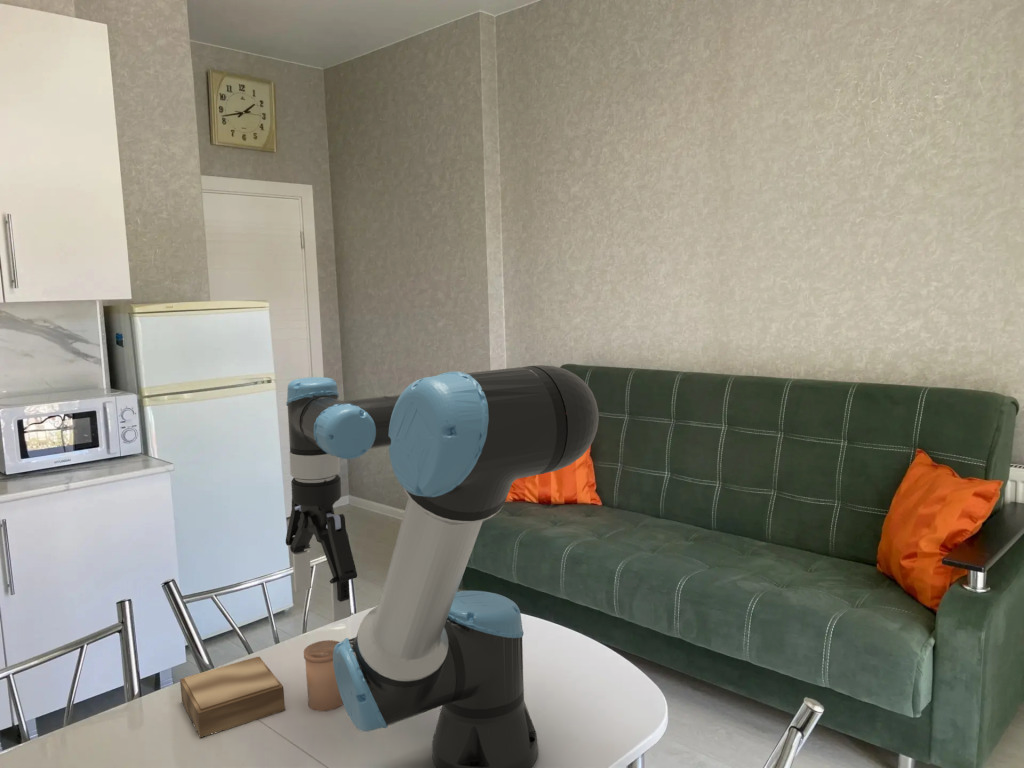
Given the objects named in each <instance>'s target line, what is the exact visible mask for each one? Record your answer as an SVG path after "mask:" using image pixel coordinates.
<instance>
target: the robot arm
mask: <svg viewBox="0 0 1024 768" xmlns="http://www.w3.org/2000/svg"><path fill="white" fill-rule="evenodd" d="M286 392H287V399H286V400H287V401H286V403H285V405H286V406H287V417H288V419H287V420H288V422H287V423H288V436H289V437H288V438H289V440H288V441H289V466H290V467H289V470H290V475H291V477H293V478H292V479H291V484H290V486H291V511H290V516H289V522H288V527H287V530H286V536H285V544H286V546H290V547H289V548H290V551H291V552H290V553H293V554H292V568H293V569H292V570H293V571H292V572H293V586H294V587H293V588H294V592H295V593H298V592H302V591H305V590H308V589H309V590H310V589H312V571H311V551H310V550H308V549H311V545H310V542H311V540H312V538H313V535H314V537H315V540H316V542H317V543H320V544H321V547H322V549H323V552H324V556H325V558H326V562H327V564H328V567H329V569H330V570H329V571H330V573H331V575H332V577H331V579H330V580H329V583H330V599H331V601H330V602H331V620H332V621H333V622H335V623H336V622H338V621H341V620H344V619H347V618H350V617H351V605H350V604H351V601H350V600H351V599H350V580H354V579H356V578H357V577H358V572H357V567H356V564H355V560H354V556H353V553H352V548H351V544H350V541H349V536H348V532H347V528H346V517H345V514H344V513H340V514H335V510H334V505H335V503H336V502H338V501H339V500H341V497H342V483H341V481H342V480H341V479H342V478H341V477H340V475H339V473H340V472H341V465H340V462H341V461H340V459H342V460H343V459H344V460H354V459H357V458H360V457H362V456H363V455H365V454H366V453H367V452H368V451H369V450H374V449H379V448H388V454H389V460H390V463H391V468H392V471H393V473H394V476H395V477H396V480H397V482H398V483H399V484H400V486H401V487H403V491H404V493H405V494H406V496H407V497H408V498H407V502H406V506H405V509H404V512H403V517H402V519H401V522H400V526H399V530H398V534H397V536H396V537H397V538H396V540H395V544H394V547H393V551H392V553H391V554H392V555H391V558H390V562H389V565H388V569H387V572H386V576H385V579H384V583H383V587H382V590H381V594H380V598H379V600H378V604H377V606H375V607H374V608H373V609H371V610H370V611H369V612H368V613H367V614H365V616H364V617H363V618H362V621H361V622H360V624H359V627H358V630H357V634H356V636H355V637H352V638H348V637H346V638H344V639H343V640H342V641H338V642H339V643H337V644H336V645H335V647H334V650H333V665H334V672H335V677H336V681H337V685H338V689H339V692H340V695H341V699H342V701H343V704H342V705H343V706H344V709H345V711H346V713H347V716H348V717H349V720H350V721H351V723H352V724H353V725H354V726H355V727H356V729H358V730H359V731H361V732H366V733H367V732H371V731H375V730H378V729H379V730H380V729H382V728H383V729H387V728H388V726H391V725H395V724H396V723H400V722H403V721H405V720H407V719H410V718H414V717H415V716H419V715H420V714H423V713H427V712H429V711H431V710H434V709H436V708H440V707H441V710H440V713H439V717H438V718H437V719H438V720H437V724H436V727H435V731H434V734H433V737H432V744H431V750H432V751H431V752H432V761H433V764H434V767H435V768H532V767H533V766H532V765H534V764H535V763H536V761H537V758H538V745H539V744H538V735H537V732H536V728H535V726H534V723H533V720H532V718H531V715H530V712H529V709H528V707H527V704H526V702H525V693H524V692H525V690H524V689H525V687H524V684H525V682H524V654H523V653H524V652H523V651H524V650H523V649H524V648H523V636H524V630H523V622H522V613H521V611H520V607H519V606H518V605H517V603H515V601H513V600H512V599H510V598H508V597H506V596H504V595H501V594H498V593H494V592H490V591H483V590H460V591H458V590H459V587H460V585H461V582H462V579H463V576H464V573H465V570H466V568H467V565H468V562H469V560H470V558H471V554H472V552H473V549H474V546H475V544H476V541H477V537H478V536H479V532H480V530H481V527H482V524H483V522H484V521H487V520H489V519H491V518H492V517H494V516H495V515H496V514H499V512H500V511H502V508H503V507H504V505H505V503H506V500H507V497H508V495H509V493H510V490H511V487H512V485H513V483H514V482H515V481H516V480H518V479H523V478H528V477H533V476H539V475H543V474H546V473H547V474H548V473H551V472H557V471H559V470H561V469H564V468H566V467H568V466H570V465H572V464H574V463H575V462H576V461H577V460H579V459H580V458H581V457H582V456H584V454H585V453H586V452H587V451H588V449H589V448H590V447H591V446H592V444H593V442H594V439H595V438H596V434H597V431H598V426H599V420H600V418H599V408H598V404H597V400H596V398H595V396H594V393H593V391H592V389H591V388H590V387H589V385H588V384H587V383H586V382H585V381H584V380H583V379H582V378H580V377H579V376H578V375H577V374H576V373H573V372H572V371H570V370H568V369H565V368H563V367H560V366H555V365H545V364H540V365H539V364H538V365H527V366H521V367H520V366H519V367H517V366H516V367H511V368H499V369H492V370H483V371H474V372H462V371H448V372H444V373H440V374H439V375H433V376H428V377H427V376H426V377H422V378H420V379H417V380H415V381H413V382H412V383H410V384H409V385H408V386H407V387H406V388H405V389H404V390H403V391H402V393H401V394H397V395H396V394H394V395H386V396H377V397H366V398H359V399H358V398H356V399H349V400H348V399H347V400H340V399H339V392H338V385H337V382H336V381H335V379H333V378H330V377H321V376H318V377H317V376H313V377H301V378H297V379H293V380H291V381H290V382H289V383H288V385H287V391H286Z"/></svg>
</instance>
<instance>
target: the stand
mask: <svg viewBox="0 0 1024 768" xmlns="http://www.w3.org/2000/svg"><path fill="white" fill-rule="evenodd" d="M179 681H180V683H179V684H180V694H181V696H180V697H181V703H182V702H183V703H182V704H184V705H183V707H184V706H185V707H184V709H185V708H186V709H185V711H186V710H187V711H186V712H188V713H187V715H188V714H189V715H188V716H190V717H191V719H192V721H193V723H194V725H195V727H196V728H195V727H194V728H195V730H196V729H197V730H196V732H197V731H198V732H197V734H198V733H199V734H198V736H199V735H200V736H199V738H200V737H202V738H204V737H203V736H205V737H207V736H206V735H208V736H211V735H212V734H211V733H214V734H216V733H215V732H217V733H220V732H223V731H226V730H229V729H233V728H235V727H238V726H241V725H243V724H247V723H250V722H253V721H256V720H260V719H262V718H265V717H268V716H272V715H274V714H277V713H280V712H284V711H286V705H285V690H284V689H285V687H284V686H283V684H282V683H281V681H280V680H279V679H278V677H277V676H275V674H274V673H273V672H272V670H271V669H270V667H268V665H267V664H266V663H265V661H264V660H263V659H262V658H261V657H260V656H254V657H251V658H247V659H244V660H241V661H238V662H234V663H231V664H226V665H224V666H223V665H222V666H220V667H217V668H213V669H210V670H209V669H208V670H205V671H203V672H199V673H196V674H192V675H189V676H186V677H183V678H180V679H179ZM190 717H189V718H190ZM191 719H190V720H191ZM192 721H191V722H192ZM193 723H192V724H193ZM194 725H193V726H194ZM222 730H223V731H222ZM219 731H220V732H219ZM210 734H211V735H210Z"/></svg>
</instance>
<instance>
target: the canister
mask: <svg viewBox="0 0 1024 768" xmlns="http://www.w3.org/2000/svg"><path fill="white" fill-rule="evenodd" d="M339 642H340V641H338V640H334V639H333V640H330V639H328V640H321V641H320V640H319V641H316V642H313V643H311V644H309V645H307V646H306V647H305V648H304V650H303V658H304V661H305V662H304V663H305V672H306V673H305V675H306V676H305V677H306V688H307V689H306V690H307V692H306V693H307V705H308V708H310V709H311V710H313V711H318V712H327V711H331V710H335V709H337V708H340V707H341V706H342V705H344V704H343V701H342V699H341V695H340V692H339V689H338V685H337V681H336V677H335V672H334V665H333V650H334V647H335V645H336V644H337V643H339Z"/></svg>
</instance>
